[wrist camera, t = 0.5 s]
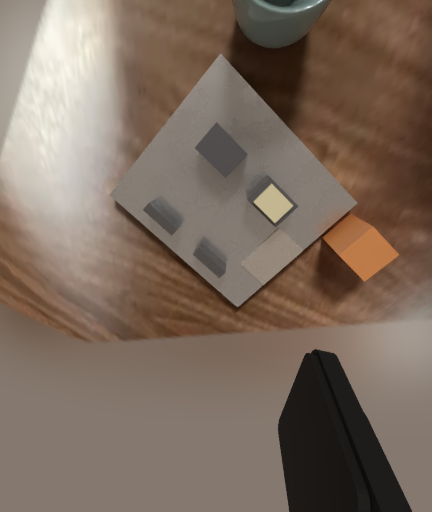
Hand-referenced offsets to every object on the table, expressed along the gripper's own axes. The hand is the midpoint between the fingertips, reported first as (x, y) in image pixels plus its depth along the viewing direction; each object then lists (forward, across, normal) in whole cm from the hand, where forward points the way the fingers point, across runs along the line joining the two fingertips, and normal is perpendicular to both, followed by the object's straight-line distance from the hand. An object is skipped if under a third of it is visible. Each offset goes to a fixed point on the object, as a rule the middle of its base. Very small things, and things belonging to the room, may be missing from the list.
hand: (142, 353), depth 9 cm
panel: (+26, -2, -1) cm, 27 cm away
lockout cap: (+27, -16, +1) cm, 31 cm away
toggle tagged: (+25, -6, -2) cm, 26 cm away
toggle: (+25, 0, -6) cm, 25 cm away
